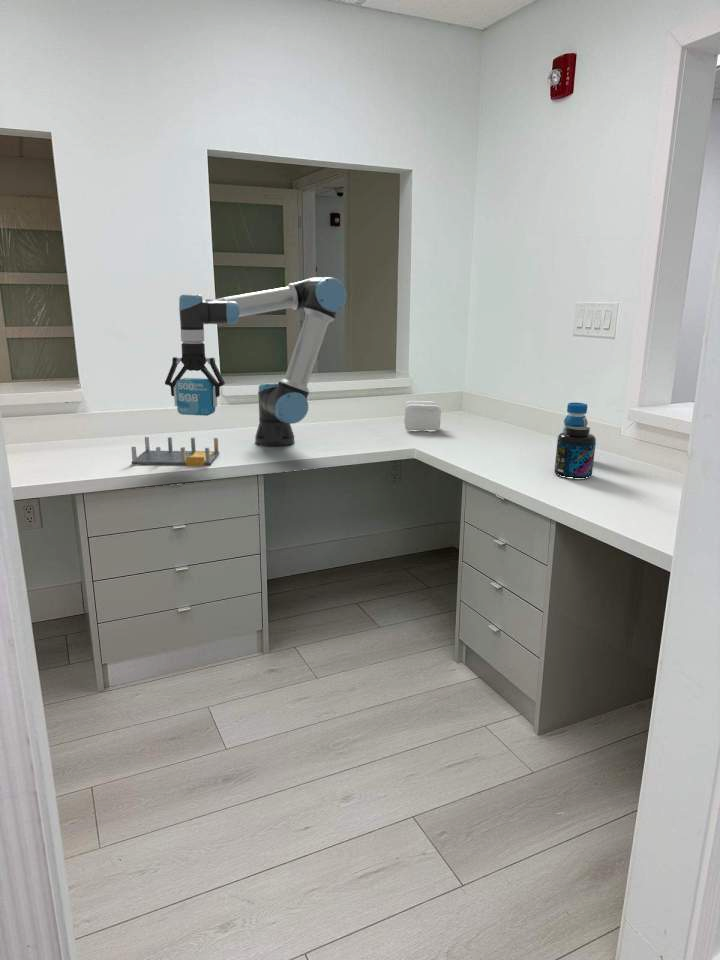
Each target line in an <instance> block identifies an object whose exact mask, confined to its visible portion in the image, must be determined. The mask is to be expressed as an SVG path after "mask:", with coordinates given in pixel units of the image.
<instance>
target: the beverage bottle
mask: <svg viewBox="0 0 720 960" xmlns="http://www.w3.org/2000/svg"><path fill="white" fill-rule="evenodd" d="M566 412H567V415H566V416H565V418H564V420H563V424H564V425H563V427H562V432H566V426H569V425H579V426H586V427H588V423H589V422H588V419H587V417H586V414H587V412H588V404H587V403H585V402H584V403H583V402H575V401H574V402H568V404H567V407H566Z"/></svg>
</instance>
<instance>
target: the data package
mask: <svg viewBox="0 0 720 960" xmlns="http://www.w3.org/2000/svg"><path fill="white" fill-rule="evenodd" d="M175 386H176V395H177V406H176V407H177V409H176V410H177V413H178V414H179V415H181V416H183V415H184V416H185V415H186V416H204V417H205V416H210V415H213V414H214V413H215V411H216V407H213V387H215V386H214V385H213V384H212V383H211V381H210V380H209V379H208V378H201V377H199V378H197V377H196V378H195V377H183V378H181V379H179V380H178V381H177V382H176V385H175Z"/></svg>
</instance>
